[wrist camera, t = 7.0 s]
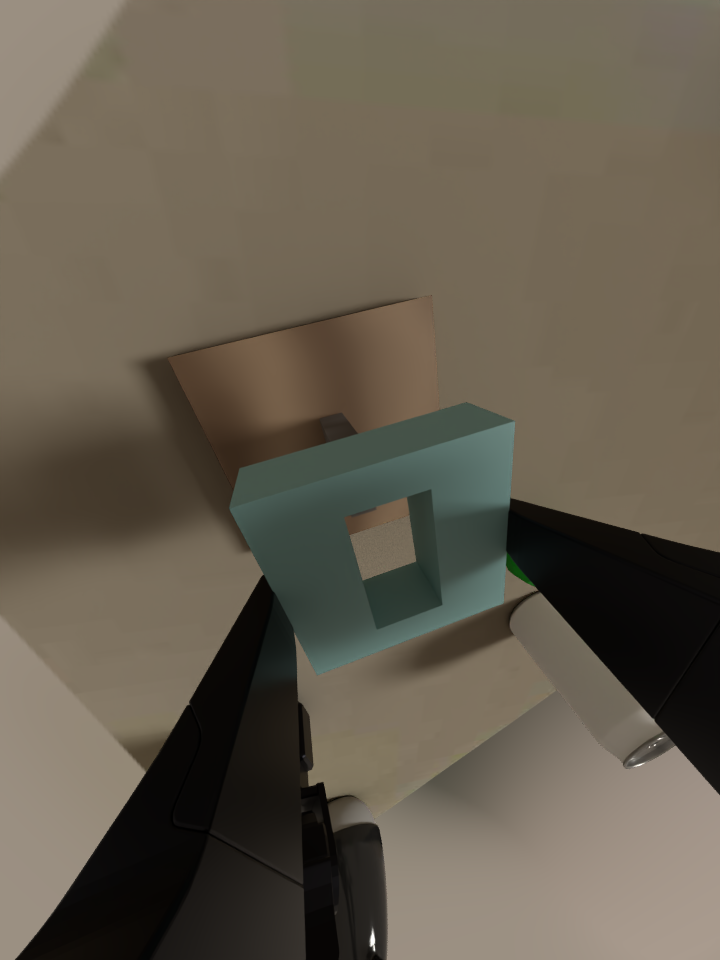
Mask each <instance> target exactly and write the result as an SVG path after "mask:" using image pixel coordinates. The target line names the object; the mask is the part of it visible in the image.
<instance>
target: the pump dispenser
mask: <svg viewBox="0 0 720 960" xmlns="http://www.w3.org/2000/svg"><path fill="white" fill-rule="evenodd" d="M328 809H329V814H330V819H331V824H332V830H333V835H334V840H335V846H336V852H337V860H338V871H339V904H338V910H337V913H336V915H335V921H336V929H337V936H338V944H339V960H386V959H387V937H388V936H387V935H388V931H387V929H388V924H387V891H386V876H385V866H384V856H383V847H382V840H381V835H380V830H379V827H378V826H377V825H376V823H375V820H374V818H373V815H372V813H371V811H370V809H369V808H368V807H367V805H366V804H365V803H364V802H363V801H361V800H360V799H358V798H355V797H351V796H347V797H342V798H338V799H335V800H333V801H331V802H329V803H328Z"/></svg>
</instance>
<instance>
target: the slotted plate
mask: <svg viewBox="0 0 720 960" xmlns="http://www.w3.org/2000/svg"><path fill="white" fill-rule="evenodd" d="M514 430H515V421H514V420H511V419H509V418H506V417H503V416H501V415H498V414H496V413H493V412H491V411H488V410H485V409H483V408H480V407H478V406H475V405H472V404H470V403H467V402H466V403H462V404H459V405H456V406H452V407H449V408H445V409H442V410H438V411H435V412H431V413H428V414H425V415H421V416H418V417H414V418H411V419H407V420H404V421H401V422H397V423H394V424H390V425H387V426H383V427H380V428H376V429H373V430H370V431H366V432H363V433H359V434H356V435H352V436H349V437H346V438H342V439H339V440H335V441H332V442H328V443H325V444H321V445H318V446H315V447H311V448H308V449H304V450H301V451H297V452H294V453H291V454H287V455H284V456H280V457H277V458H273V459H270V460H266V461H263V462H260V463H256V464H253V465H249V466H246V467H242V468H240V469H239V472H238V476H237V480H236V484H235V488H234V491H233V495H232V499H231V503H230V507H229V509H230V511H231V513H232V515H233V517H234V519H235V521H236V523H237V525H238V526H239V528H240V530H241V532H242V534H243V536H244V538H245V540H246V542H247V543H248V545H249V547H250V549H251V551H252V553H253V555H254V557H255V559H256V561H257V562H258V564H259V566H260V568H261V570H262V572H263V574H264V576H265V578H266V579H267V581H268V583H269V585H270V587H271V589H272V591H273V592H275V594H276V596H277V598H278V600H279V601H280V603H281V605H282V607H283V609H284V611H285V613H286V615H287V617H288V619H289V621H290V623H291V624H292V626H293V630H294V632H295V634H296V636H297V638H298V640H299V642H300V644H301V646H302V647H303V649H304V651H305V653H306V655H307V657H308V659H309V661H310V663H311V664H312V666H313V668H314V670H315V672H316V674H317V675H319V674H322V673H325V672H327V671H330V670H332V669H335V668H338V667H340V666H343V665H345V664H348V663H350V662H353V661H356V660H358V659H361V658H363V657H366V656H369V655H371V654H374V653H376V652H379V651H381V650H384V649H387V648H389V647H392V646H394V645H397V644H400V643H402V642H405V641H407V640H410V639H412V638H415V637H418V636H420V635H423V634H425V633H428V632H431V631H433V630H436V629H438V628H441V627H443V626H446V625H449V624H451V623H454V622H456V621H459V620H462V619H464V618H467V617H469V616H472V615H474V614H477V613H480V612H482V611H485V610H487V609H490V608H493V607H495V606H498V605H500V604H503V602H504V587H505V571H506V555H507V552H506V542H507V526H508V512H509V508H510V492H511V477H512V461H513V445H514ZM405 497H407V502H408V508H409V515H410V522H411V528H412V535H413V542H414V548H415V555H416V562H414V563H411V564H408V565H405V566H403V567H400V568H397V569H394V570H391V571H388V572H386V573H383V574H380V575H377V576H374V577H372V578H369V579H366V580H363V581H362V577H361V574H360V570H359V567H358V563H357V560H356V557H355V553H354V550H353V546H352V543H351V539H350V536H349V533H348V529H347V526H346V522H345V519H344V517H347V516H350V515H353V514H356V513H359V512H362V511H365V510H368V509H371V508H374V507H377V506H380V505H383V504H387V503H390V502H393V501H396V500H399V499H402V498H405Z"/></svg>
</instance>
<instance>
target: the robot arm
mask: <svg viewBox="0 0 720 960" xmlns="http://www.w3.org/2000/svg"><path fill="white" fill-rule="evenodd" d="M506 552H507V553H508V554H509V556H510V557H511V559H512V560H513V561H514V563H515V564H516V565H517V566H518V568H519V569H520V570H521V571H522V572H523V573H524V575H525V576H526V577H527V578H528V579H529V580H530V581H531V582H532V584H533V585H534V586H535V587H536V588H537V589H538V590H539V591H540V593H541V594H542V595H543V596H544V597H545V598H546V599H547V600H548V602H549V603H550V604H551V605H552V606H553V607H554V608H555V609H556V611H557V612H558V613H559V614H560V615H561V616H562V617H563V619H564V620H565V621H566V622H567V623H568V624H569V625H570V626H571V628H572V629H573V630H574V631H575V632H576V633H577V634H578V635H579V637H580V638H581V639H582V640H583V641H584V642H585V643H586V644H587V646H588V647H589V648H590V649H591V650H592V651H593V652H594V653H595V655H596V656H597V657H598V658H599V659H600V660H601V661H602V662H603V664H604V665H605V666H606V667H607V668H608V669H609V670H610V672H611V673H612V674H613V675H614V676H615V677H616V678H617V679H618V681H619V682H620V683H621V684H622V685H623V686H624V687H625V688H626V690H627V691H628V692H629V693H630V694H631V695H632V696H633V697H634V699H635V700H636V701H637V702H638V703H639V704H640V705H641V706H642V708H643V709H644V710H645V711H646V712H647V713H648V714H649V715H650V717H651V718H652V719H654V721H655V723H656V724H657V725H658V726H659V727H660V728H661V729H662V731H663V732H664V733H665V734H666V735H667V736H668V737H669V738H670V740H671V741H672V742H673V743H674V744H675V745H676V746H677V747H678V749H679V750H680V751H681V752H682V753H683V754H684V755H685V756H686V757H687V759H688V760H689V761H690V762H691V763H692V764H693V765H694V767H696V769H697V770H698V771H699V772H700V773H701V774H702V776H703V777H704V778H705V779H706V780H707V781H708V782H709V783H710V785H711V786H712V787H713V788H714V789H715V790H716V791H717V792H718V794H719V795H720V552H715V551H711V550H707V549H702V548H698V547H693V546H689V545H685V544H681V543H677V542H673V541H670V540H666V539H662V538H658V537H654V536H651V535H647V534H640V533H639V532H635V531H632V530H628V529H624V528H621V527H617V526H613V525H609V524H606V523H602V522H598V521H594V520H591V519H587V518H583V517H579V516H576V515H572V514H568V513H564V512H561V511H557V510H553V509H549V508H546V507H542V506H538V505H535V504H531V503H527V502H523V501H520V500H516V499H512V498H510V508H509V512H508V526H507V542H506ZM189 704H190V705H187V706H186V708H185V710H184V711H183V713H182V715H181V716H180V718H179V720H178V722H177V723H176V725H175V727H174V728H173V730H172V732H171V733H170V735H169V737H168V738H167V740H166V742H165V743H164V745H163V747H162V748H161V750H160V752H159V753H158V755H157V757H156V758H155V760H154V761H153V763H152V764H151V766H150V767H149V769H148V771H147V772H146V774H145V775H144V777H143V778H142V780H141V781H140V783H139V785H138V786H137V788H136V789H135V791H134V792H133V794H132V795H131V797H130V798H129V800H128V801H127V803H126V804H125V806H124V807H123V809H122V810H121V812H120V813H119V815H118V816H117V818H116V819H115V821H114V822H113V824H112V825H111V827H110V828H109V830H108V831H107V833H106V834H105V836H104V837H103V839H102V840H101V842H100V843H99V845H98V846H97V848H96V849H95V851H94V852H93V854H92V855H91V857H90V858H89V860H88V861H87V863H86V865H85V866H84V867H83V869H82V870H81V872H80V873H79V875H78V877H77V878H76V879H75V881H74V883H73V884H72V885H71V887H70V888H69V890H68V891H67V893H66V894H65V896H64V897H63V899H62V900H61V902H60V903H59V904H58V906H57V907H56V909H55V910H54V912H53V913H52V914H51V916H50V917H49V918H48V920H47V921H46V922H45V924H44V925H43V926H42V928H41V929H40V930H39V932H38V933H37V934H36V935H35V936H34V938H33V939H32V940H31V942H30V943H29V944H28V945H27V946H26V948H25V949H24V950H23V951H22V952H21V953H20V955H19V956H18V957H17V958H16V959H15V960H339V944H338V936H337V929H336V921H335V915H336V913H337V910H338V904H339V871H338V860H337V852H336V846H335V840H334V835H333V830H332V824H331V819H330V814H329V809H328V803H327V798H326V793H325V787H324V783H323V782H321V783H317V784H316V785H314V786H310V787H309V785H308V771H309V770H312V768H313V754H312V742H311V730H310V718H309V714H308V713H307V711H306V709H305V708H304V706H303V705H302V704H301V703H300V702H298V692H297V659H296V645H295V637H294V630H293V626H292V624H291V623H290V621H289V619H288V617H287V615H286V613H285V611H284V609H283V607H282V605H281V603H280V601H279V600H278V598H277V596H276V594H275V592H273V591H272V589H271V587H270V585H269V583H268V581H267V579H266V578H265V576H264V575H263V576H262V577H261V578H260V580H259V582H258V583H257V585H256V587H255V589H254V590H253V592H252V594H251V596H250V597H249V599H248V601H247V602H246V604H245V606H244V608H243V609H242V611H241V613H240V615H239V616H238V618H237V620H236V622H235V623H234V625H233V627H232V628H231V630H230V632H229V634H228V635H227V637H226V639H225V641H224V642H223V644H222V646H221V647H220V649H219V651H218V653H217V654H216V656H215V658H214V660H213V661H212V663H211V665H210V667H209V668H208V670H207V672H206V673H205V675H204V677H203V679H202V680H201V682H200V684H199V686H198V687H197V689H196V691H195V692H194V694H193V696H192V698H191V699H190V701H189Z"/></svg>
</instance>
